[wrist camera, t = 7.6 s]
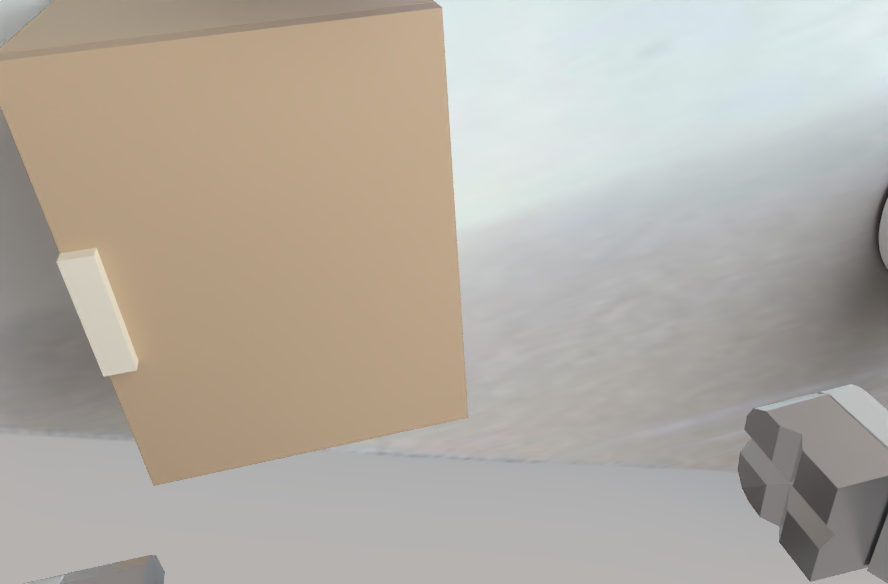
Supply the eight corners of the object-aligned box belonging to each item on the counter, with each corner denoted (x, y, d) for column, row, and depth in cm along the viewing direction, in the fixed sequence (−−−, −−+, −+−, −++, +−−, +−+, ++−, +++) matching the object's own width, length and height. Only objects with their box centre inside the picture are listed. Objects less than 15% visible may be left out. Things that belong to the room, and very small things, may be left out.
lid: (435, 2, 25) (446, 11, 23) (462, 403, 34) (471, 426, 33) (-8, 54, 22) (-24, 68, 21) (155, 468, 32) (152, 496, 31)
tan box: (385, -39, 33) (434, 1, 25) (419, 294, 43) (462, 402, 34) (58, -4, 31) (-7, 53, 22) (172, 339, 40) (156, 467, 32)
